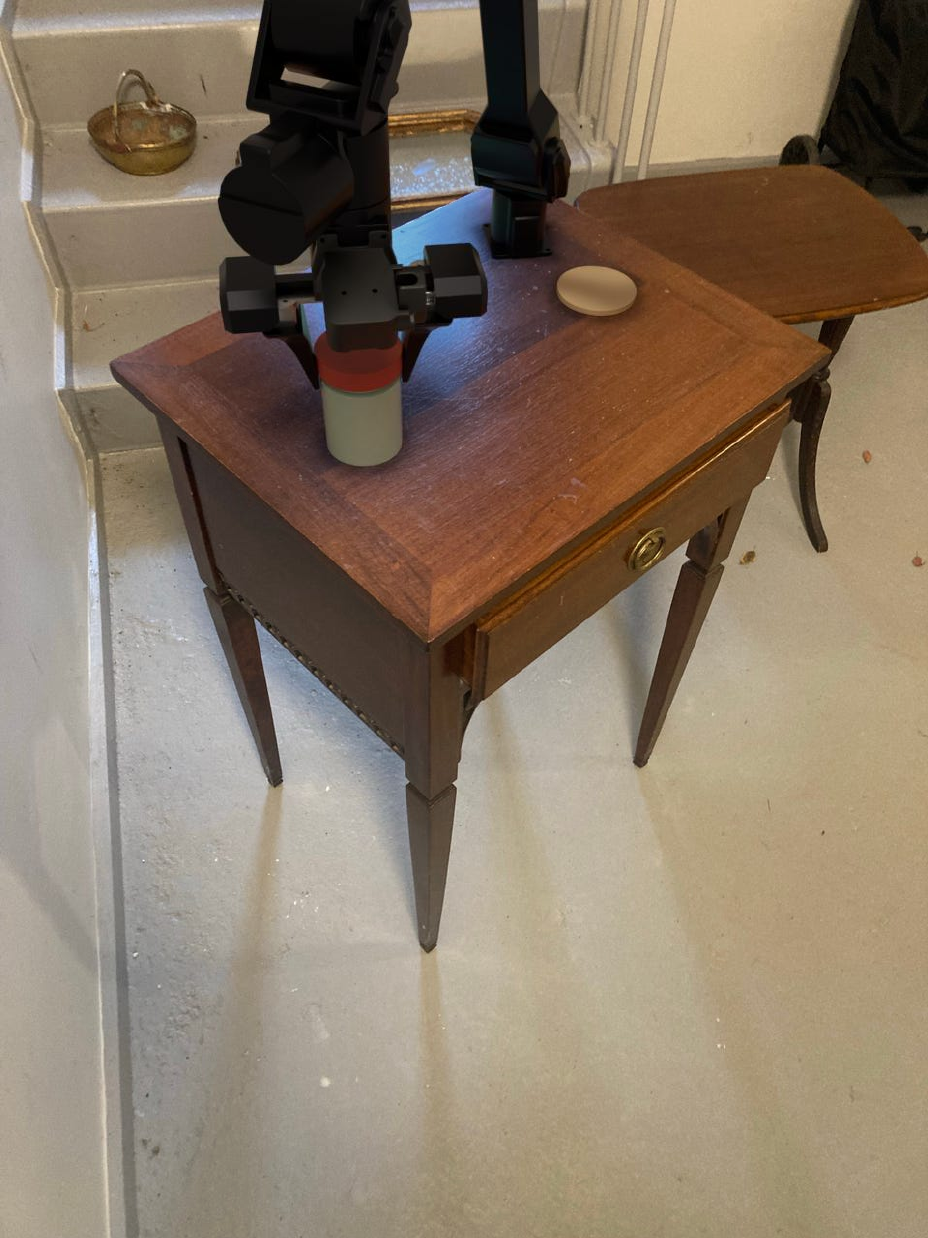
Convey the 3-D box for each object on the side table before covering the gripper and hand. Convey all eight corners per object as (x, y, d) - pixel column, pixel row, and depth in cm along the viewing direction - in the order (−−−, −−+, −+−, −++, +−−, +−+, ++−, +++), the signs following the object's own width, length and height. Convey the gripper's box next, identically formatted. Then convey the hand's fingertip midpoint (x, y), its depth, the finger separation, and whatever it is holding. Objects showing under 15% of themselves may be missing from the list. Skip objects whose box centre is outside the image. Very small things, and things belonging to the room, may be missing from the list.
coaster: (548, 273, 95) (549, 267, 95) (623, 268, 96) (624, 263, 96) (566, 318, 90) (566, 313, 90) (645, 313, 91) (646, 307, 91)
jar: (324, 419, 80) (314, 335, 74) (398, 413, 81) (395, 329, 74) (329, 469, 76) (320, 386, 70) (407, 463, 77) (405, 379, 70)
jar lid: (367, 328, 76) (366, 310, 74) (421, 368, 73) (421, 350, 71) (298, 361, 73) (296, 343, 71) (351, 404, 70) (350, 386, 68)
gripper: (201, 264, 55) (242, 462, 67) (509, 245, 58) (495, 440, 70) (203, 173, 62) (240, 368, 74) (478, 160, 64) (470, 351, 77)
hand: (360, 383), depth 74 cm, fingers closed on jar lid, 6 cm apart
